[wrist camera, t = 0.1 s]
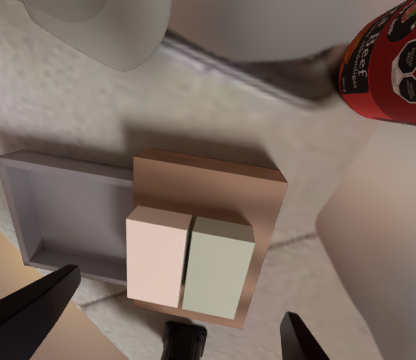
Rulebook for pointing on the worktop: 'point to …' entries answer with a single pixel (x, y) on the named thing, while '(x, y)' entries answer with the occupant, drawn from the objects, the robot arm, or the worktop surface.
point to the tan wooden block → (211, 208)
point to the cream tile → (156, 254)
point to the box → (69, 213)
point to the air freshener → (105, 27)
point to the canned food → (383, 67)
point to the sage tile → (217, 266)
